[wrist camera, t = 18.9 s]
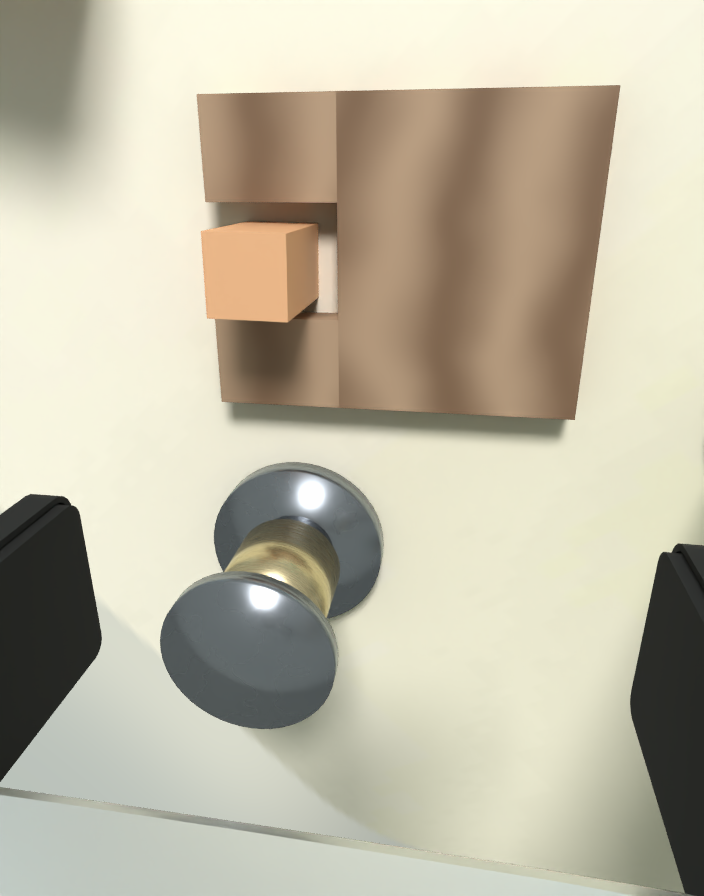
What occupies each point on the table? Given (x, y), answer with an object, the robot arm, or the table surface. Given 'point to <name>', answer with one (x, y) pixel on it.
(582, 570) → the table surface
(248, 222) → the light orange block
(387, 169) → the notched board
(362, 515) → the bobbin
